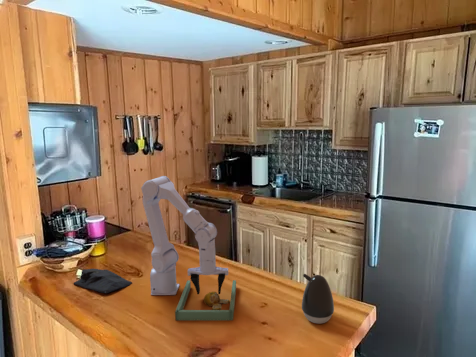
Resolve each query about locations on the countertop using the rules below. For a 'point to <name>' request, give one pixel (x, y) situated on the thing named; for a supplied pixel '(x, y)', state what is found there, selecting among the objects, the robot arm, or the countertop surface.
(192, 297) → the countertop surface
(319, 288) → the pump dispenser
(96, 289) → the black fabric pouch
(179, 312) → the green u-shaped bracket
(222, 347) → the countertop surface
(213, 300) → the fruit
